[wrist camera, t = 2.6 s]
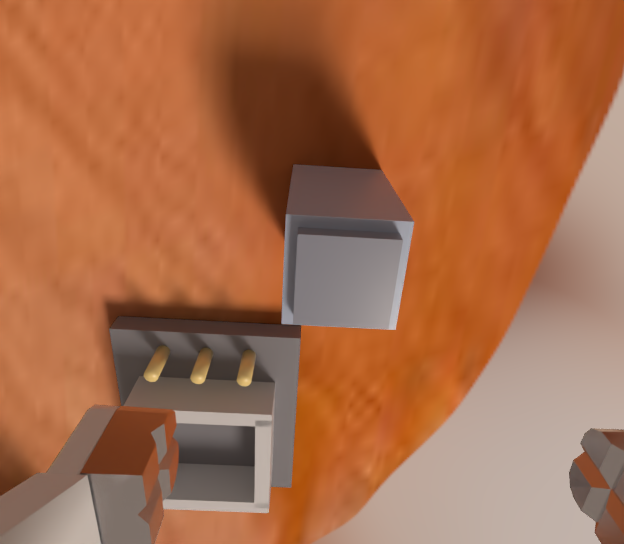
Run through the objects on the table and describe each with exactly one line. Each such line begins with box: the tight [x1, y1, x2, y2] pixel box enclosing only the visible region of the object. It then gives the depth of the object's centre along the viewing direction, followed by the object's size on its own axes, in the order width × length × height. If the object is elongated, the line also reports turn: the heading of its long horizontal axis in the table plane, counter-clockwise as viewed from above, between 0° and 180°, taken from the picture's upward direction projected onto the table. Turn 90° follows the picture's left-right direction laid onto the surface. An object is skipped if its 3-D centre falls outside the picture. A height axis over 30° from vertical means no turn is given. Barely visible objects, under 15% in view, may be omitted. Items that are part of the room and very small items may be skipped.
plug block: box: [281, 164, 414, 330], centre depth 18 cm, size 4×4×8 cm
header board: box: [109, 316, 301, 513], centre depth 24 cm, size 11×10×4 cm
